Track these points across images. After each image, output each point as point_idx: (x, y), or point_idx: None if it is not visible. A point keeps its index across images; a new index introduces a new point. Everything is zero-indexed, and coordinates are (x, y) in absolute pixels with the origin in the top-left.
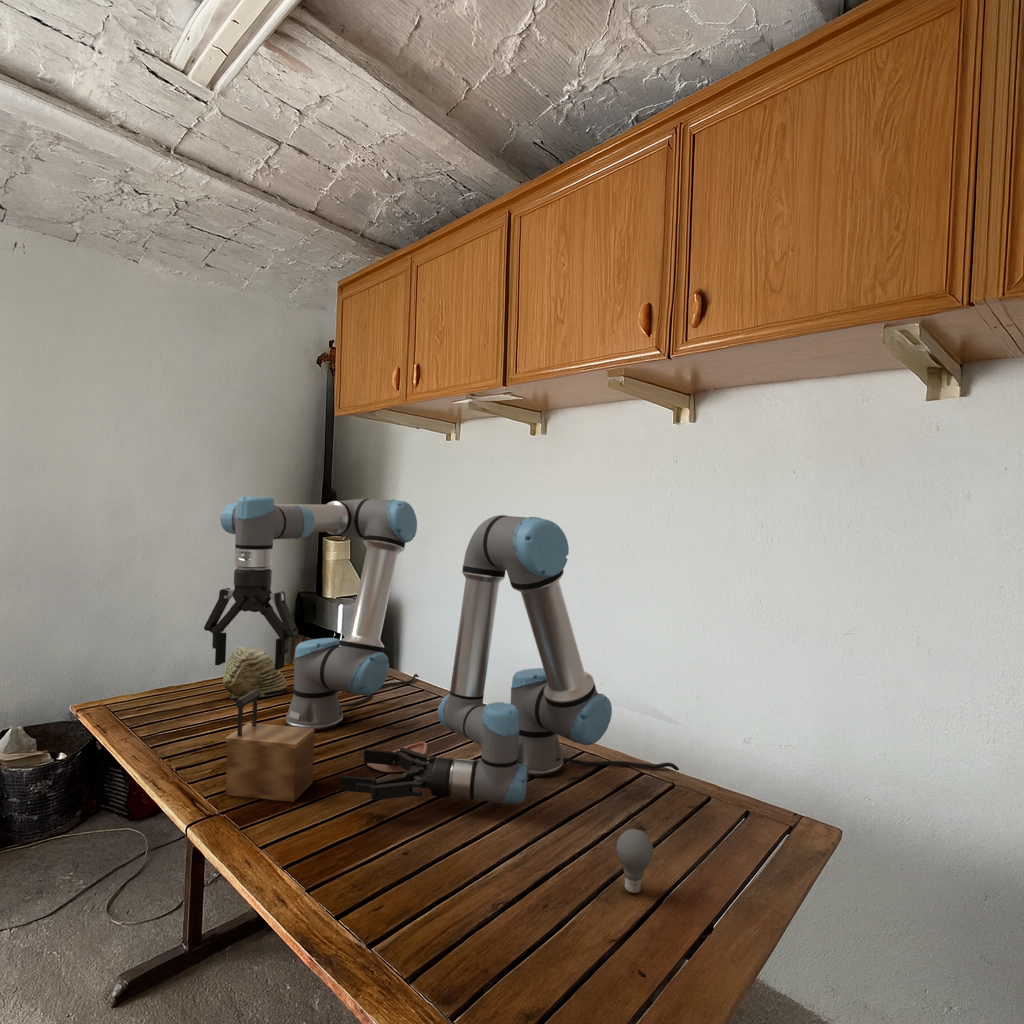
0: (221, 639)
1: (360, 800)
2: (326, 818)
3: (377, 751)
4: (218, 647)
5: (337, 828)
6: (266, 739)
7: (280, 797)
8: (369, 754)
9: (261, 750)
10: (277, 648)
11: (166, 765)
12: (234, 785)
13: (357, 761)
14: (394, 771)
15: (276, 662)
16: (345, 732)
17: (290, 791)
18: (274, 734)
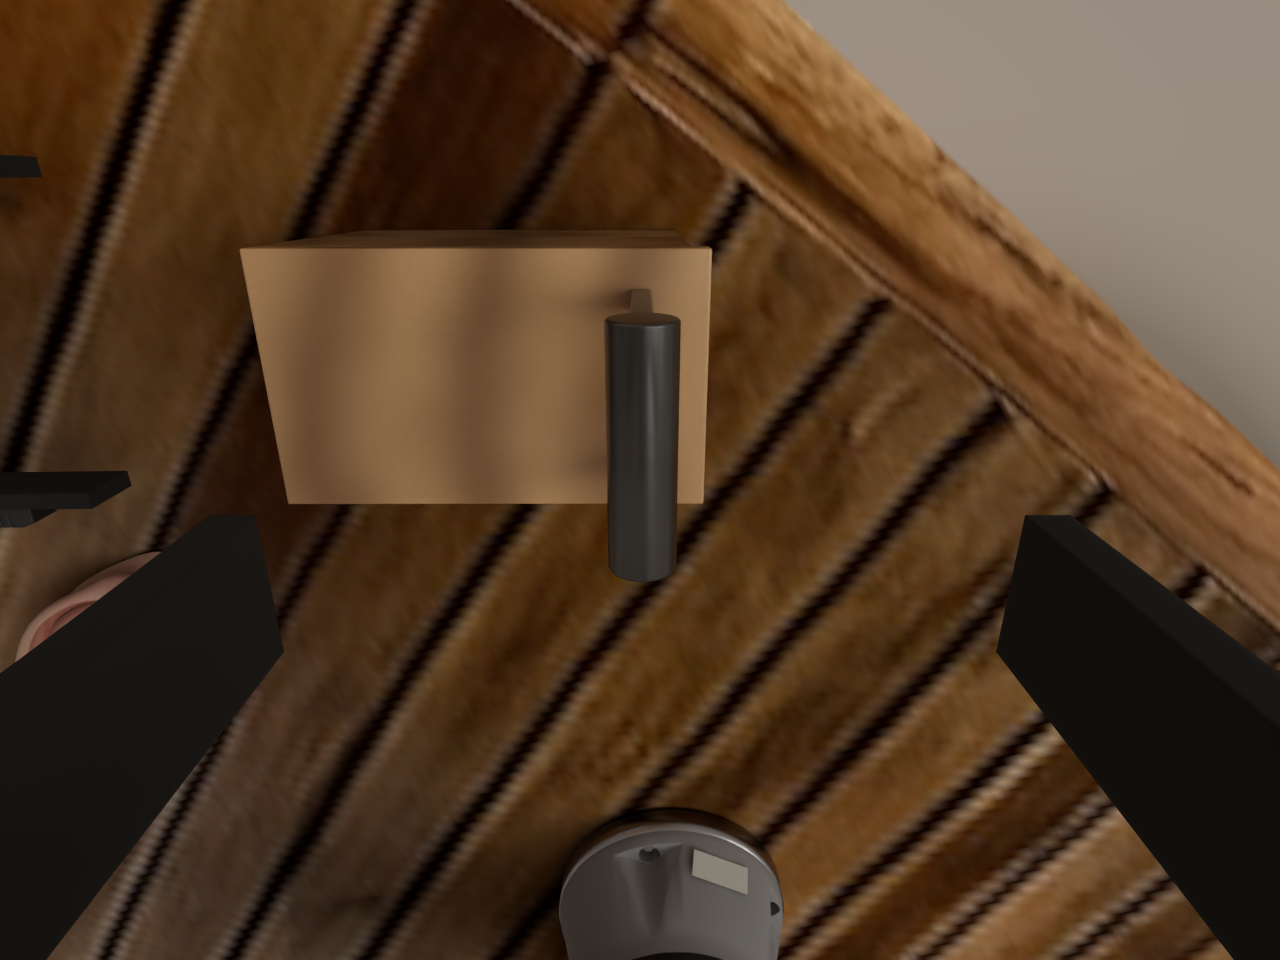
0: (1267, 812)
1: (116, 307)
2: (151, 119)
3: (20, 496)
4: (1193, 648)
5: (53, 41)
6: (451, 280)
7: (421, 230)
8: (72, 487)
9: (475, 244)
10: (6, 690)
11: (1061, 434)
12: (636, 232)
13: (327, 623)
14: (126, 561)
15: (180, 561)
16: (510, 838)
17: (365, 232)
18: (453, 367)
